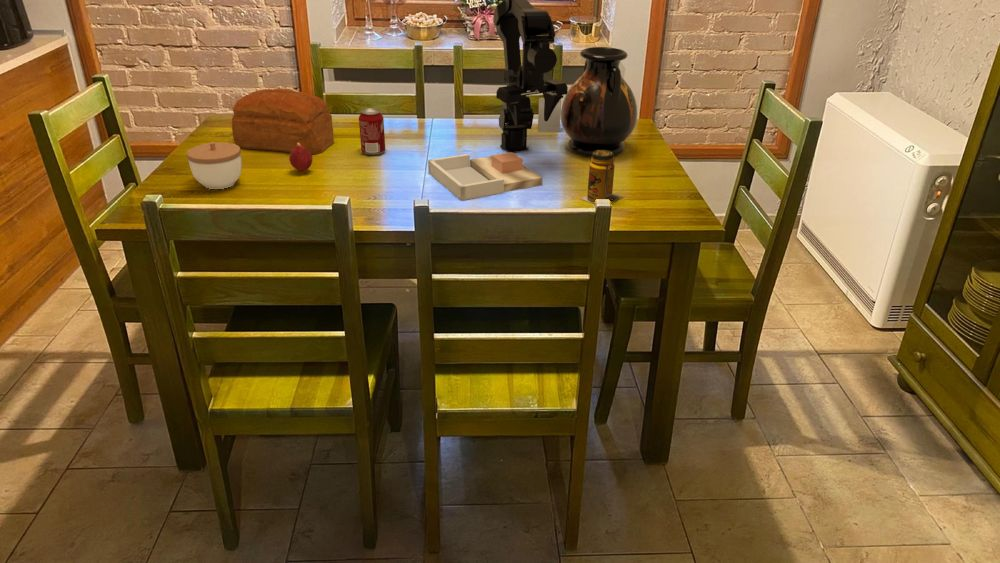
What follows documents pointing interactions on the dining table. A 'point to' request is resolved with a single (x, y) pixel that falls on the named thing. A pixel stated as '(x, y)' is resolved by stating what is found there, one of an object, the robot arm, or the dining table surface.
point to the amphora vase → (599, 105)
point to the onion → (300, 158)
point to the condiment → (601, 177)
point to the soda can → (372, 131)
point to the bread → (282, 121)
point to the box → (463, 177)
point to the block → (507, 162)
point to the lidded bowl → (215, 164)
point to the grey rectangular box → (553, 121)
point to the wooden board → (506, 174)
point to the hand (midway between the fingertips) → (531, 123)
